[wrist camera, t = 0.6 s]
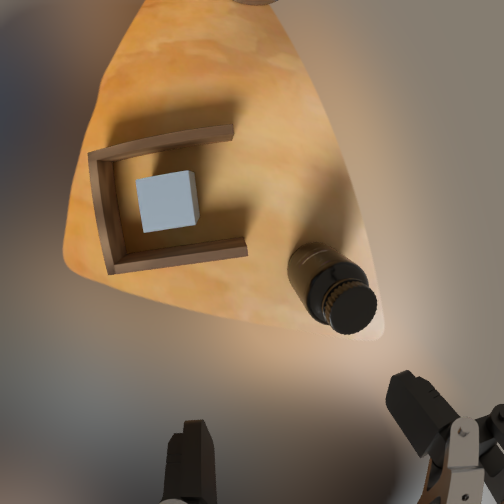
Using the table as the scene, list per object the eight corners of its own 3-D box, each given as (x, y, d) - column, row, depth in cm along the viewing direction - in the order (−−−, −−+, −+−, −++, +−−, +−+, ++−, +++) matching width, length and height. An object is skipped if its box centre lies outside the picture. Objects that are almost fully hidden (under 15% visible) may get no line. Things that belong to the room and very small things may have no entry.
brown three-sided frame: (104, 156, 27) (87, 153, 22) (230, 132, 28) (232, 124, 24) (121, 262, 30) (108, 275, 26) (244, 245, 31) (248, 256, 27)
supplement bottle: (302, 231, 32) (347, 259, 20) (346, 255, 33) (400, 289, 22) (275, 281, 33) (303, 332, 22) (320, 301, 35) (361, 352, 23)
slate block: (151, 179, 28) (135, 179, 23) (194, 172, 29) (188, 170, 23) (157, 223, 30) (143, 232, 24) (200, 216, 30) (195, 224, 24)
